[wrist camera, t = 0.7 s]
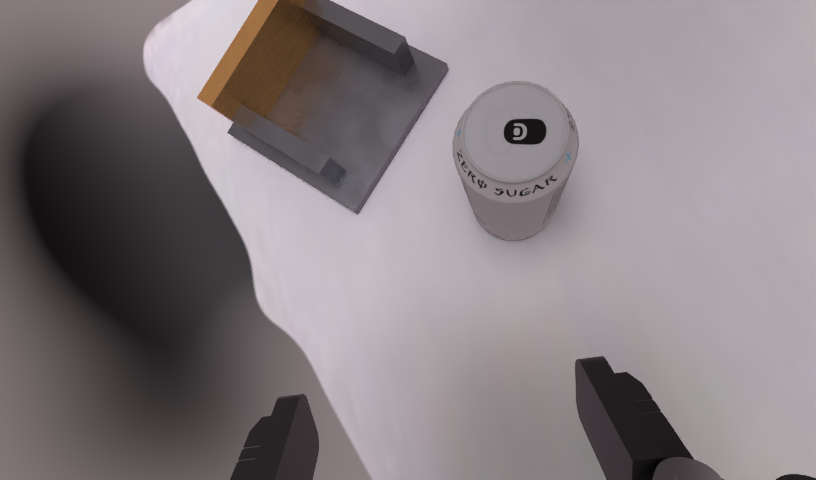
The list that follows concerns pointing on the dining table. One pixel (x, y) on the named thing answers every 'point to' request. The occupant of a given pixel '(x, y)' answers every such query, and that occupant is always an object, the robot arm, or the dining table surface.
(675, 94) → the dining table surface
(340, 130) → the keeper cradle
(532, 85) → the energy drink can
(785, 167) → the dining table surface
